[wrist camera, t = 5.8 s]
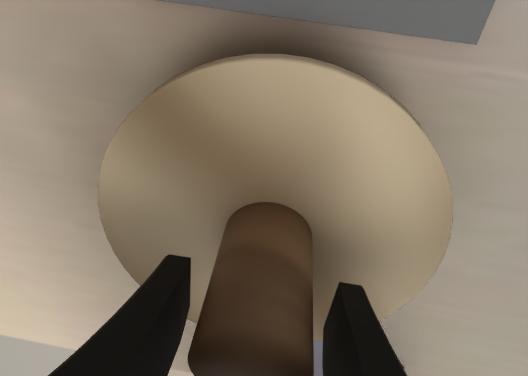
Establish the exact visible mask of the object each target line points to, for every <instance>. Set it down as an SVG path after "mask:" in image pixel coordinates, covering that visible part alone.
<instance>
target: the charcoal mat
mask: <svg viewBox="0 0 528 376" xmlns="http://www.w3.org/2000/svg"><path fill="white" fill-rule="evenodd" d="M161 1H168V2H175V3H182V4H190V5H197V6H204V7H211V8H218V9H225V10H232V11H239V12H247V13H254V14H261V15H268V16H275V17H282V18H289V19H296V20H304V21H311V22H318V23H325V24H332V25H339V26H346V27H353V28H361V29H368V30H375V31H382V32H389V33H396V34H403V35H410V36H418V37H425V38H432V39H439V40H446V41H453V42H460V43H467V44H475V45H477V43H478V40H479V38H480V35H481V33H482V31H483V28H484V26H485V23H486V21H487V19H488V16H489V14H490V11H491V9H492V7H493V4H494V2H495V0H161Z"/></svg>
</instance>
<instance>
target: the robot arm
mask: <svg viewBox="0 0 528 376" xmlns="http://www.w3.org/2000/svg"><path fill="white" fill-rule="evenodd" d="M190 283H191V258H190V257H184V256H177V255H171V254H169V255H167V256H165V257H164V259H163V260H162V261H161V263H160V264H159V265H158V266H157V267H156V269H155V270H154V271H153V272H152V274H151V275H150V276H149V277H148V278H147V279H146V281H145V282H144V283H143V284H142V285H141V286H140V287H139V289H138V290H137V291H136V292H135V293H134V294H133V295H132V296H131V297H130V298H129V299H128V300H127V302H126V303H125V304H124V305H123V306H122V307H121V308H120V309H119V310H118V311H117V312H116V313H115V314H114V315H113V316H112V317H111V318H110V319H109V320H108V321H107V322H106V323H105V324H104V325H103V326H102V327H101V328H100V329H99V330H98V331H97V332H96V333H95V334H94V335H93V336H92V337H91V338H90V339H89V340H88V341H87V342H85V343H84V344H83V345H82V346H81V347H80V348H79V349H78V350H77V351H76V352H75V353H74V354H72V355H71V356H70V357H69V358H68V359H67V360H66V361H65V362H63V363H62V364H61V365H60V366H59V367H58V368H56V369H55V370H54V371H53V372H52V373H51V374H49V375H48V376H167V375H168V373H169V370H170V368H171V365H172V362H173V360H174V357H175V355H176V352H177V349H178V347H179V344H180V341H181V338H182V334H183V331H184V327H185V323H186V319H187V316H188V312H189V308H190ZM313 347H314V375H313V376H407V374H406V371H405V370H404V369H403V367H402V365H401V364H400V362H399V360H398V358H397V356H396V354H395V352H394V350H393V349H392V347H391V345H390V343H389V341H388V339H387V337H386V335H385V333H384V331H383V329H382V327H381V325H380V323H379V321H378V319H377V317H376V314H375V312H374V310H373V308H372V306H371V304H370V301H369V299H368V297H367V295H366V292H365V290H364V288H363V287H362V286H361V285H356V284H349V283H343V282H339V284H338V287H337V289H336V292H335V295H334V298H333V301H332V304H331V307H330V310H329V313H328V315H327V318H326V321H325V324H324V327H323V340H317V341H313Z"/></svg>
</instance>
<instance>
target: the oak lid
mask: <svg viewBox="0 0 528 376" xmlns="http://www.w3.org/2000/svg"><path fill="white" fill-rule="evenodd" d="M98 205H99V211H100V216H101V222H102V224H103V227H104V230H105V233H106V236H107V239H108V241H109V243H110V245H111V247H112V249H113V251H114V253H115V254H116V256H117V257H118V259H119V260H120V262H121V263H122V265H123V266H124V268H125V269H126V270H127V272H128V273H129V274H130V275H131V276H132V277H133V279H134V280H135V281H136V282H137V283H138V284H139V285H140V286H141V285H142V284H143V283H144V282H145V281H146V279H147V278H148V277H149V276H150V275H151V274H152V272H153V271H154V270H155V269H156V267H157V266H158V265H159V264H160V263H161V261H162V260H163V259H164V257H165V256H167V255H169V254H171V255H177V256H184V257H190V258H191V283H190V308H189V312H188V316H187V319H189V320H191V321H192V322H195V323H197V326H196V329H195V333H194V336H193V340H192V343H191V347H190V350H189V354H188V364H189V367H190V370H191V371H192V373H193V374H194V376H313V375H314V347H313V341H317V340H323V327H324V324H325V321H326V318H327V315H328V313H329V310H330V307H331V304H332V301H333V298H334V295H335V292H336V289H337V287H338V284H339V282H343V283H349V284H356V285H361V286H362V287H363V288H364V290H365V292H366V295H367V297H368V299H369V301H370V304H371V306H372V308H373V310H374V312H375V314H376V317H377V319H378V321H381V320H383V319H385V318H386V317H388V316H389V315H391V314H393V313H394V312H396V311H397V310H399V309H400V308H401V307H403V306H404V305H405V304H406V303H408V302H409V301H410V300H411V299H413V298H414V297H415V296H416V295H417V294H418V293H419V292H420V291H421V289H422V288H423V287H424V286H425V285H426V284H427V283H428V281H429V280H430V278H431V277H432V276H433V274H434V273H435V272H436V270H437V268H438V266H439V264H440V262H441V260H442V258H443V257H444V255H445V251H446V248H447V245H448V242H449V239H450V235H451V229H452V222H453V200H452V194H451V189H450V185H449V180H448V176H447V174H446V172H445V169H444V167H443V164H442V162H441V159H440V157H439V155H438V154H437V152H436V150H435V149H434V147H433V145H432V144H431V142H430V140H429V139H428V137H427V136H426V134H425V132H424V131H423V129H422V128H421V126H420V124H419V123H418V122H417V121H416V120H415V119H414V118H413V116H412V115H411V114H410V113H409V112H408V111H407V110H406V108H405V107H404V106H403V105H402V104H400V103H399V102H398V101H397V100H396V99H394V98H393V97H392V96H391V95H390V94H388V93H387V92H386V91H385V90H383V89H382V88H380V87H379V86H377V85H375V84H374V83H372V82H370V81H369V80H367V79H365V78H364V77H362V76H360V75H358V74H356V73H353V72H351V71H349V70H346V69H344V68H342V67H339V66H337V65H334V64H331V63H327V62H323V61H320V60H316V59H313V58H309V57H301V56H294V55H287V54H247V55H240V56H233V57H226V58H222V59H219V60H215V61H212V62H208V63H205V64H201V65H199V66H197V67H194V68H192V69H190V70H188V71H185V72H183V73H181V74H179V75H177V76H175V77H174V78H172V79H171V80H169V81H168V82H166V83H165V84H163V85H162V86H160V87H158V88H157V89H156V90H155V91H154V92H153V93H152V94H151V95H149V96H148V97H147V98H146V99H145V100H144V101H143V102H142V103H141V104H140V105H138V106H137V107H136V108H135V109H134V110H133V111H132V112H131V113H130V114H129V116H128V117H127V118H126V119H125V121H124V122H123V123H122V125H121V126H120V127H119V128H118V130H117V131H116V133H115V135H114V136H113V138H112V140H111V142H110V144H109V146H108V147H107V150H106V153H105V156H104V159H103V162H102V165H101V168H100V175H99V182H98Z"/></svg>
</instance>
